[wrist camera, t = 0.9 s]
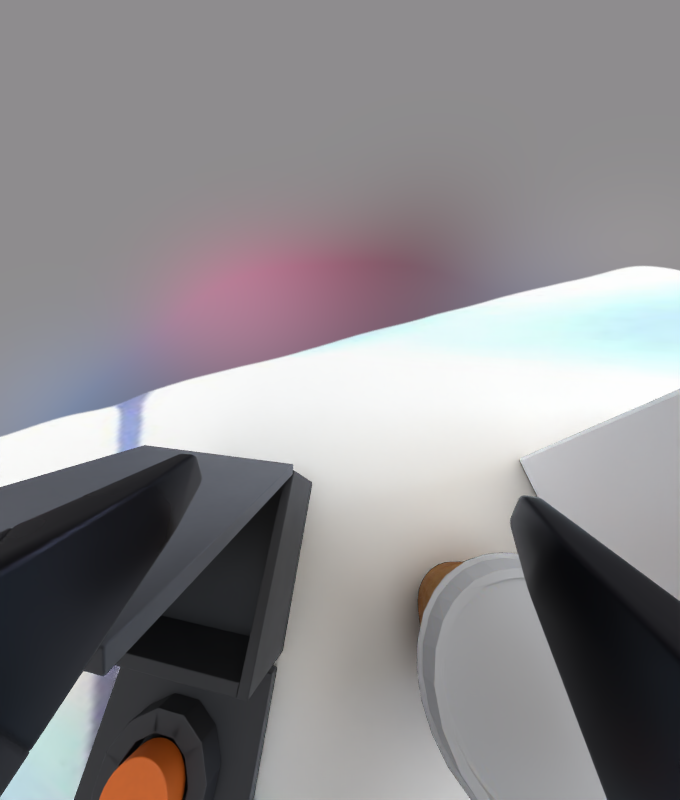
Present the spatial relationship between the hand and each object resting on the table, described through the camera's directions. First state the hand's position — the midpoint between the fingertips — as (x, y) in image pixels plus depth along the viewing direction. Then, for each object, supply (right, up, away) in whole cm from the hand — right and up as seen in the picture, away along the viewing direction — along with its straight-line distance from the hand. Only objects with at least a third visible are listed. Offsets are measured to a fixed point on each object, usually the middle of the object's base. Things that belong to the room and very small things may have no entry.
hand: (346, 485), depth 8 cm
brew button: (-12, -22, +10) cm, 27 cm away
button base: (-12, -22, +13) cm, 28 cm away
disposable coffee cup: (+9, -14, +14) cm, 22 cm away
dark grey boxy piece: (-10, -11, +17) cm, 23 cm away
